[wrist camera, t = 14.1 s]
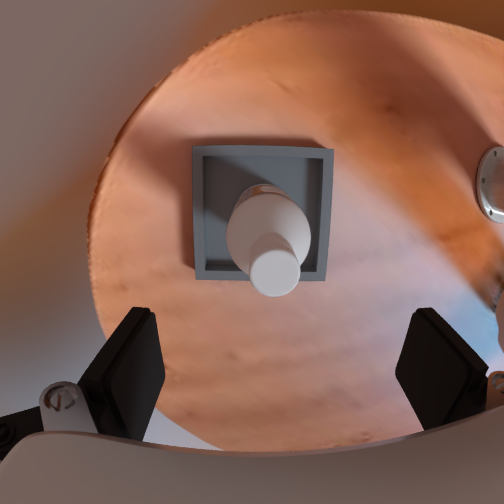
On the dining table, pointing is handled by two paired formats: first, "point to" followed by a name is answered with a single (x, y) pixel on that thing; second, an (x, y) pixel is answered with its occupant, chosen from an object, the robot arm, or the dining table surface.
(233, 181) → the blue-gray tray
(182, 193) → the dining table surface
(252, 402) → the dining table surface
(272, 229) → the bath foam
